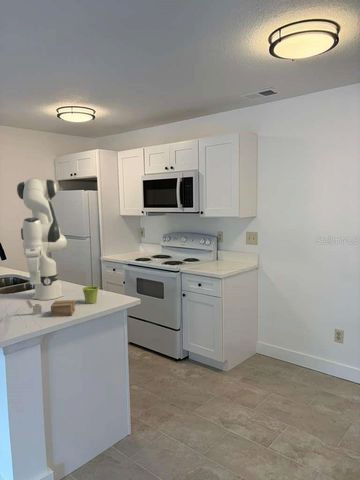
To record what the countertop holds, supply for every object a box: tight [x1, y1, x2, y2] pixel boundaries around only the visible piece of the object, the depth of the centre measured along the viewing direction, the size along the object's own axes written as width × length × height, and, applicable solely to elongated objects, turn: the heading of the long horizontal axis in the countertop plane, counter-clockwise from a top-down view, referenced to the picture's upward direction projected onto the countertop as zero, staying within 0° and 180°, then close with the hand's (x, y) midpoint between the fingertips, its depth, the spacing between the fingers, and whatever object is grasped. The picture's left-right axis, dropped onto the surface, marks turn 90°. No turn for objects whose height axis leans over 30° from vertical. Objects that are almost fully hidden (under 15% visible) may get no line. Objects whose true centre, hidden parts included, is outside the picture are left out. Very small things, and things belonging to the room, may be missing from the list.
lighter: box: [25, 299, 43, 316], centre depth 188 cm, size 7×2×8 cm, turn 111°
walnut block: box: [50, 299, 76, 318], centre depth 188 cm, size 10×10×6 cm
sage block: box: [29, 270, 41, 285], centre depth 178 cm, size 4×4×6 cm
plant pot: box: [81, 285, 100, 305], centre depth 208 cm, size 9×9×9 cm
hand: (35, 278), depth 178 cm, fingers closed on sage block, 4 cm apart
